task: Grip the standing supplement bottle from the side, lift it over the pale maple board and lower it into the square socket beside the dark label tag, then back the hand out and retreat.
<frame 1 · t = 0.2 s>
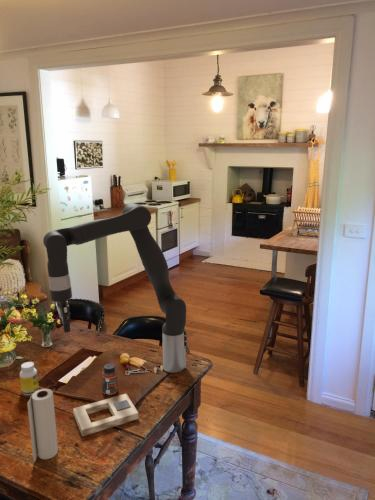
hand: (65, 327, 153), 29 cm above the table, tool pointing down, fingers open, 8 cm apart
supplement bottle: (110, 392, 162), on the table
paper towel roll: (46, 454, 130), on the table
pill bottle: (30, 391, 162), on the table
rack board: (105, 416, 147), on the table
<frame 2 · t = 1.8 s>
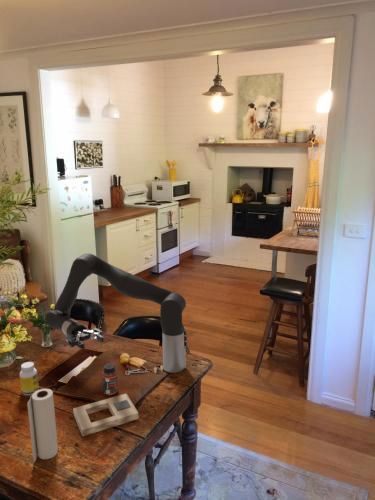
hand: (93, 343, 166), 17 cm above the table, tool horizontal, fingers open, 8 cm apart
nothing on the table moved.
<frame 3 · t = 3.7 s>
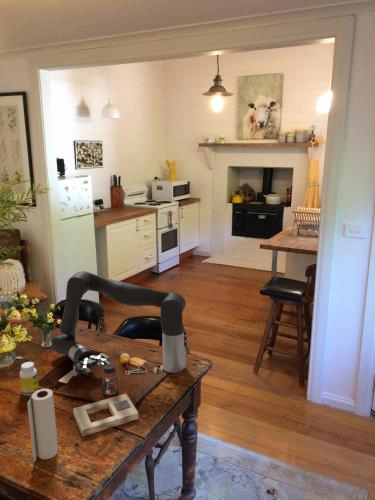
hand: (100, 370, 165), 6 cm above the table, tool horizontal, fingers open, 8 cm apart
nothing on the table moved.
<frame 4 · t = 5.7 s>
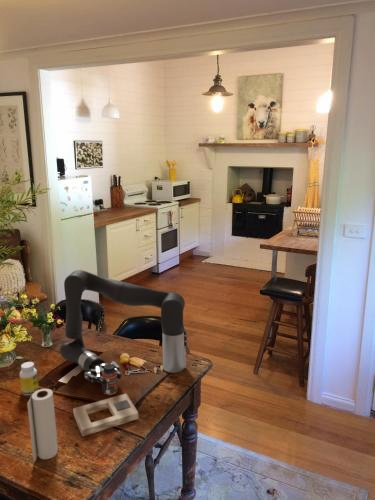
hand: (113, 379, 159), 7 cm above the table, tool horizontal, fingers closed on supplement bottle, 6 cm apart
supplement bottle: (110, 392, 162), on the table, touching gripper
everything else where it was.
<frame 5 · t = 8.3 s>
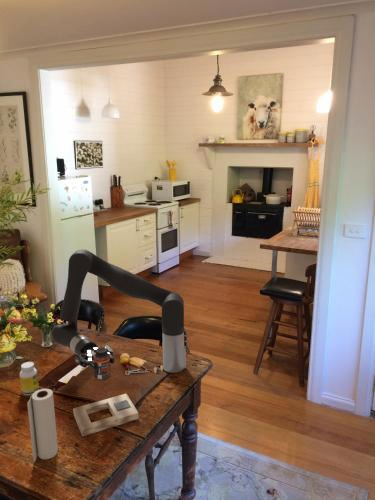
hand: (105, 364, 148), 18 cm above the table, tool horizontal, fingers closed on supplement bottle, 6 cm apart
supplement bottle: (102, 377, 152), point 11 cm above the table, touching gripper
everything else where it was.
when the fingers open (8 cm above the table, at t = 10.9 s): supplement bottle drops 2 cm, resting in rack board.
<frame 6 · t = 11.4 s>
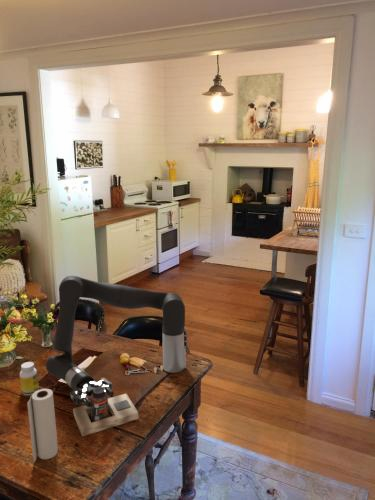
hand: (101, 399, 143), 9 cm above the table, tool horizontal, fingers open, 8 cm apart
supplement bottle: (100, 418, 147), resting in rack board
everything else where it was.
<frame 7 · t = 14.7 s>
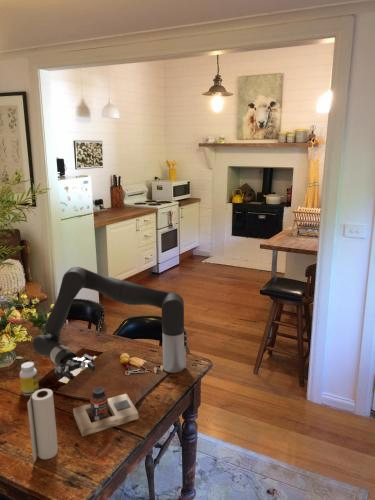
hand: (83, 373, 151), 13 cm above the table, tool horizontal, fingers open, 8 cm apart
nothing on the table moved.
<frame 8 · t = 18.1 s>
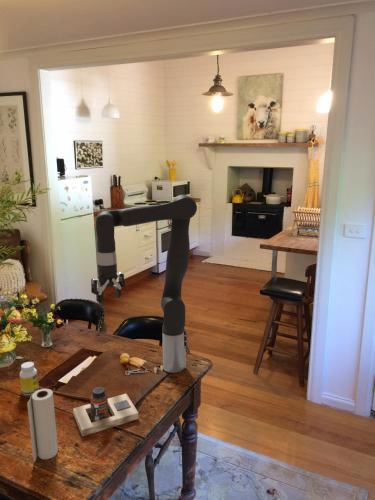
hand: (109, 300, 167), 33 cm above the table, tool pointing down, fingers open, 8 cm apart
nothing on the table moved.
at the end: supplement bottle 0.2 cm from the target spot on the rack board, point 0.0 cm above the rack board's base; supplement bottle tilted 0°; the gripper is holding nothing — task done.
